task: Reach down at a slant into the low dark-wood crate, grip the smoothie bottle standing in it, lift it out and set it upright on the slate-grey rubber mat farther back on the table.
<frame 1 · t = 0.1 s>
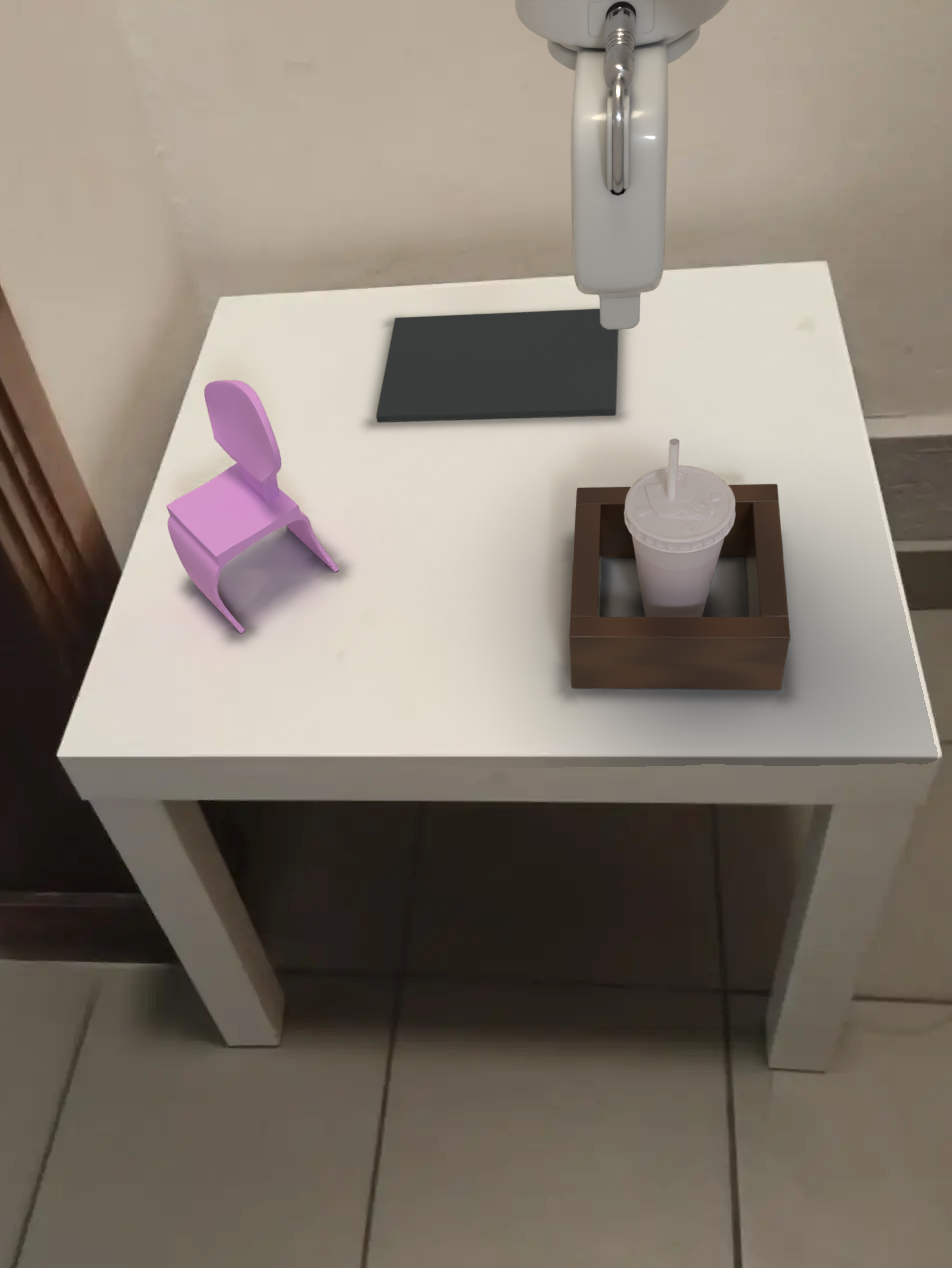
hand: (621, 259, 60), 25 cm above the table, tool pointing down, fingers open, 8 cm apart
mat: (500, 366, 95), on the table
crate: (673, 611, 79), on the table
toy chair: (264, 580, 85), on the table
smoothie: (673, 612, 79), resting in crate
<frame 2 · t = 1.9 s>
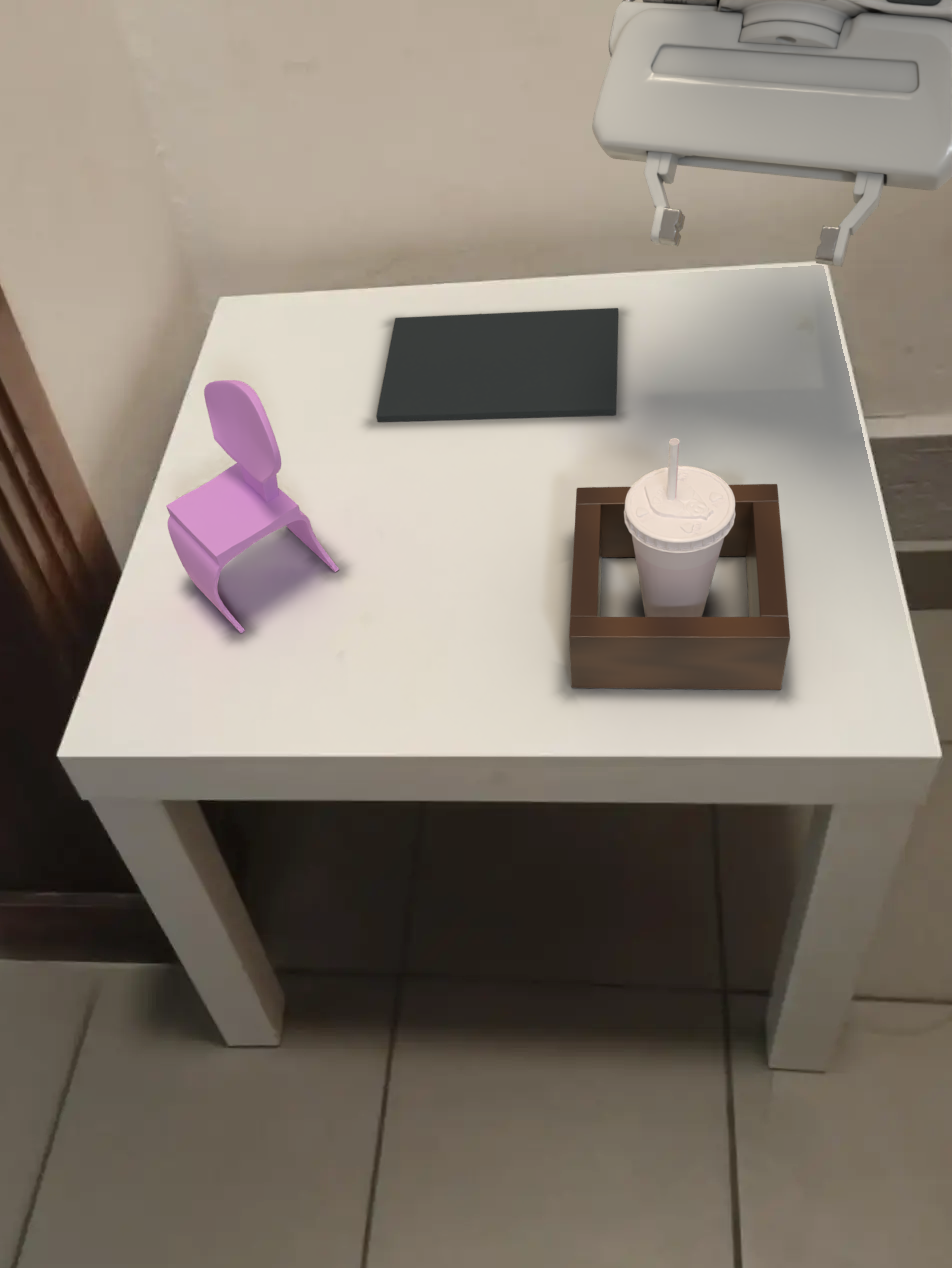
hand: (744, 253, 70), 18 cm above the table, tool tilted 45°, fingers open, 8 cm apart
nothing on the table moved.
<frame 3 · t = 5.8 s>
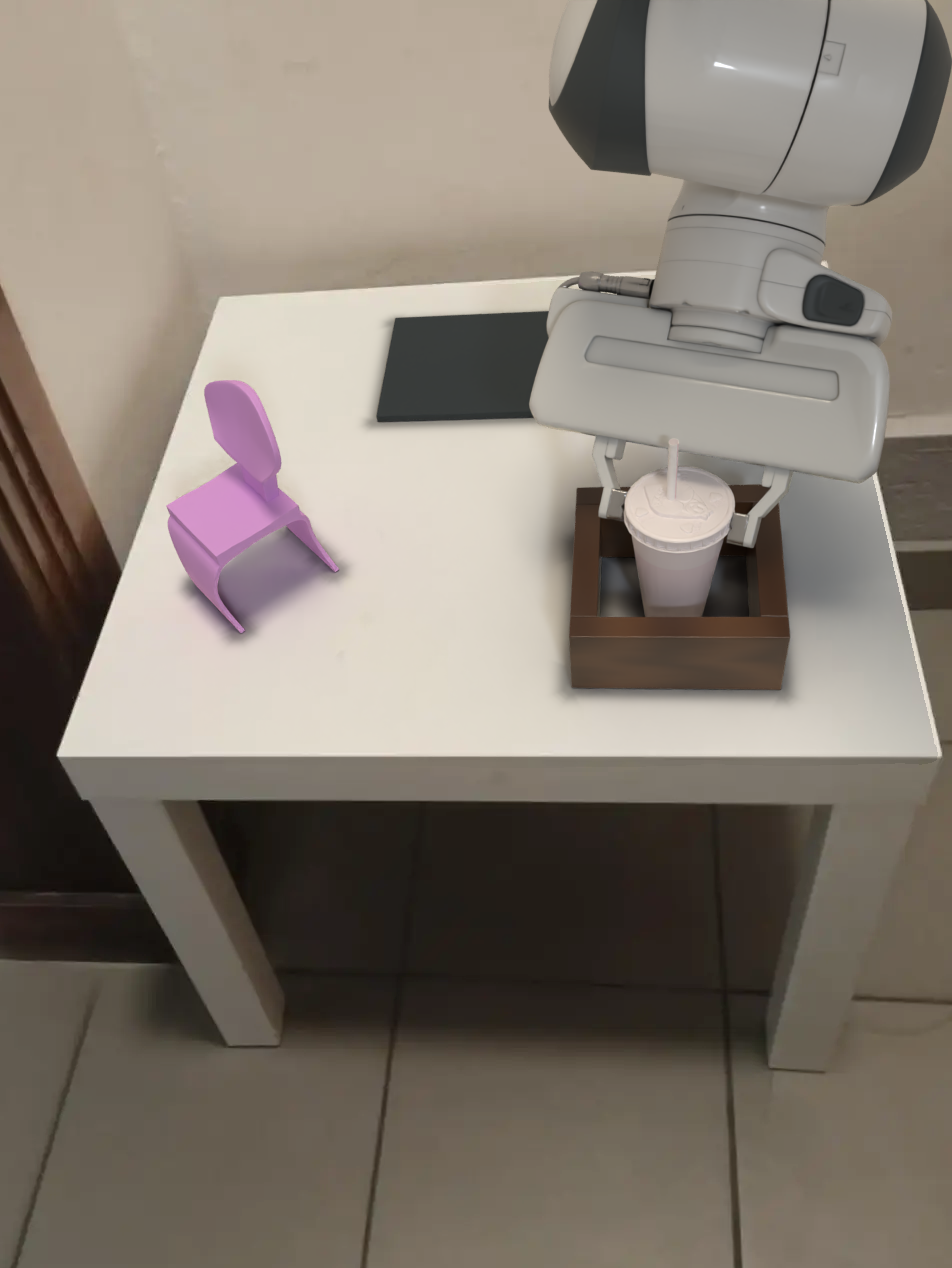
hand: (675, 532, 72), 8 cm above the table, tool tilted 45°, fingers closed on smoothie, 6 cm apart
smoothie: (673, 613, 79), resting in crate, touching gripper
everything else where it was.
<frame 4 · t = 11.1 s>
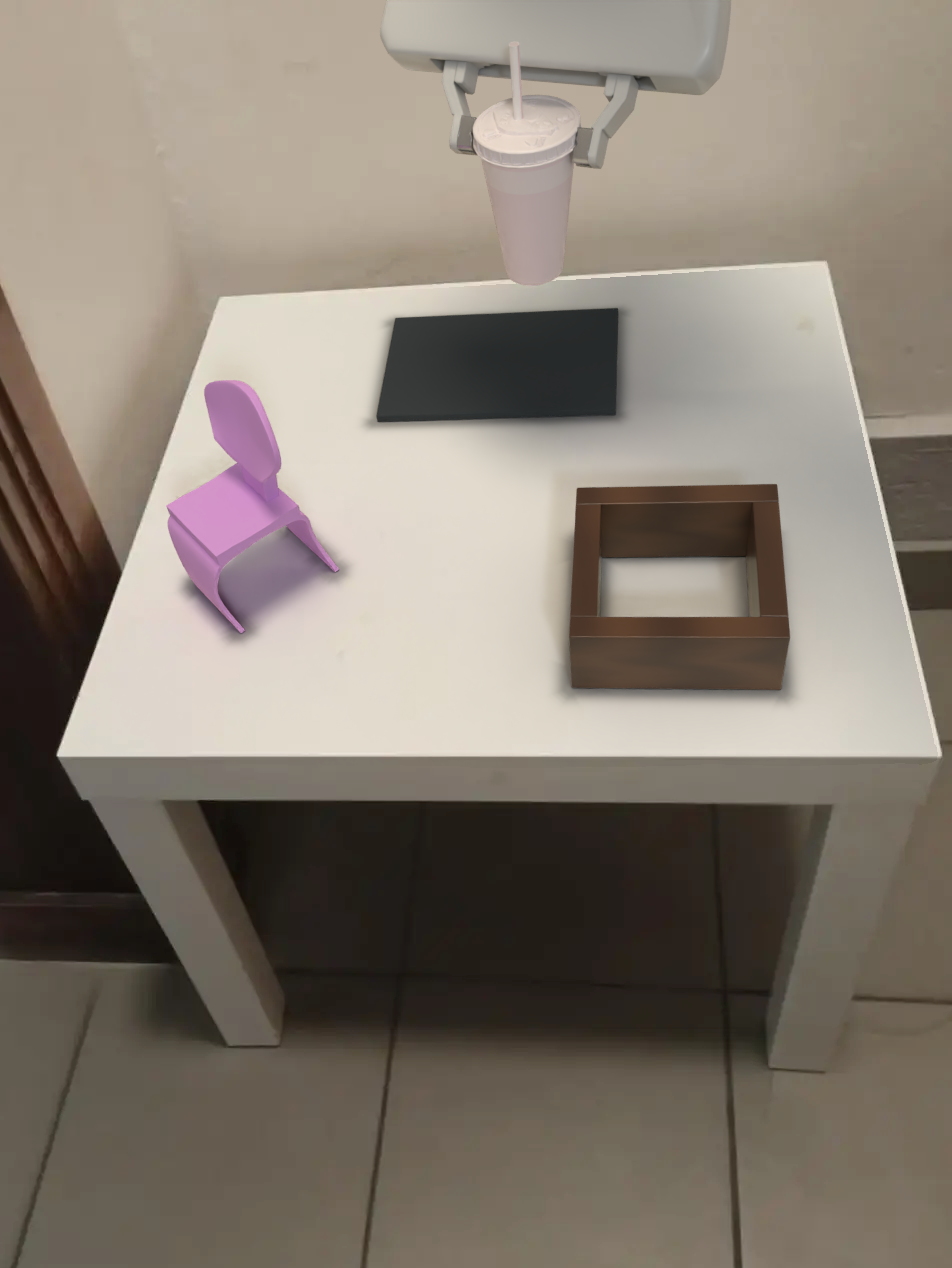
hand: (524, 158, 72), 22 cm above the table, tool tilted 45°, fingers closed on smoothie, 6 cm apart
smoothie: (534, 270, 79), point 14 cm above the table, touching gripper
everything else where it was.
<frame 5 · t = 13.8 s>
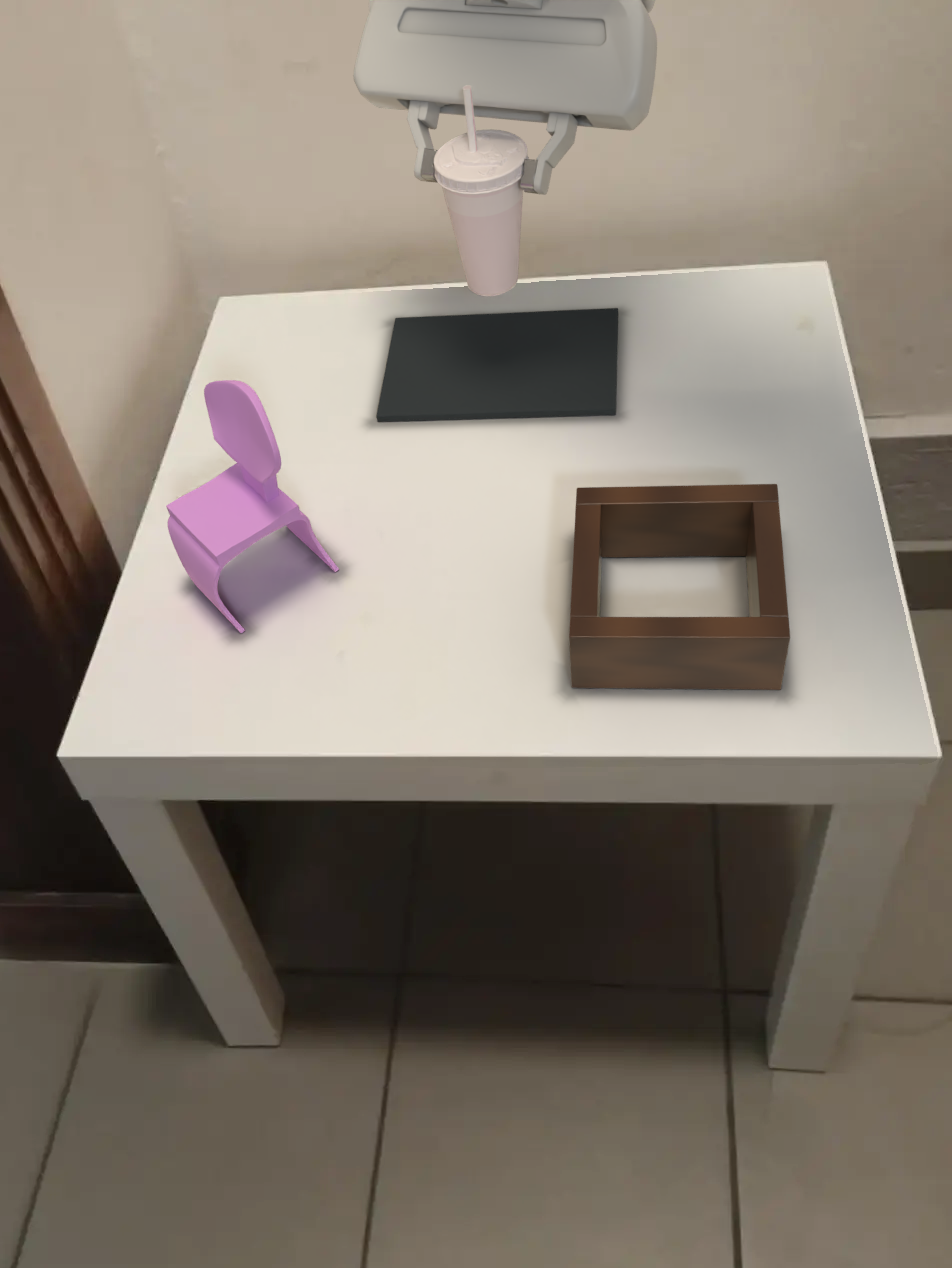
hand: (479, 186, 82), 16 cm above the table, tool tilted 45°, fingers closed on smoothie, 6 cm apart
smoothie: (492, 282, 89), point 8 cm above the table, touching gripper
everything else where it was.
when the fingers open (8 cm above the table, at t = 16.3 s): smoothie stays where it is, resting on mat.
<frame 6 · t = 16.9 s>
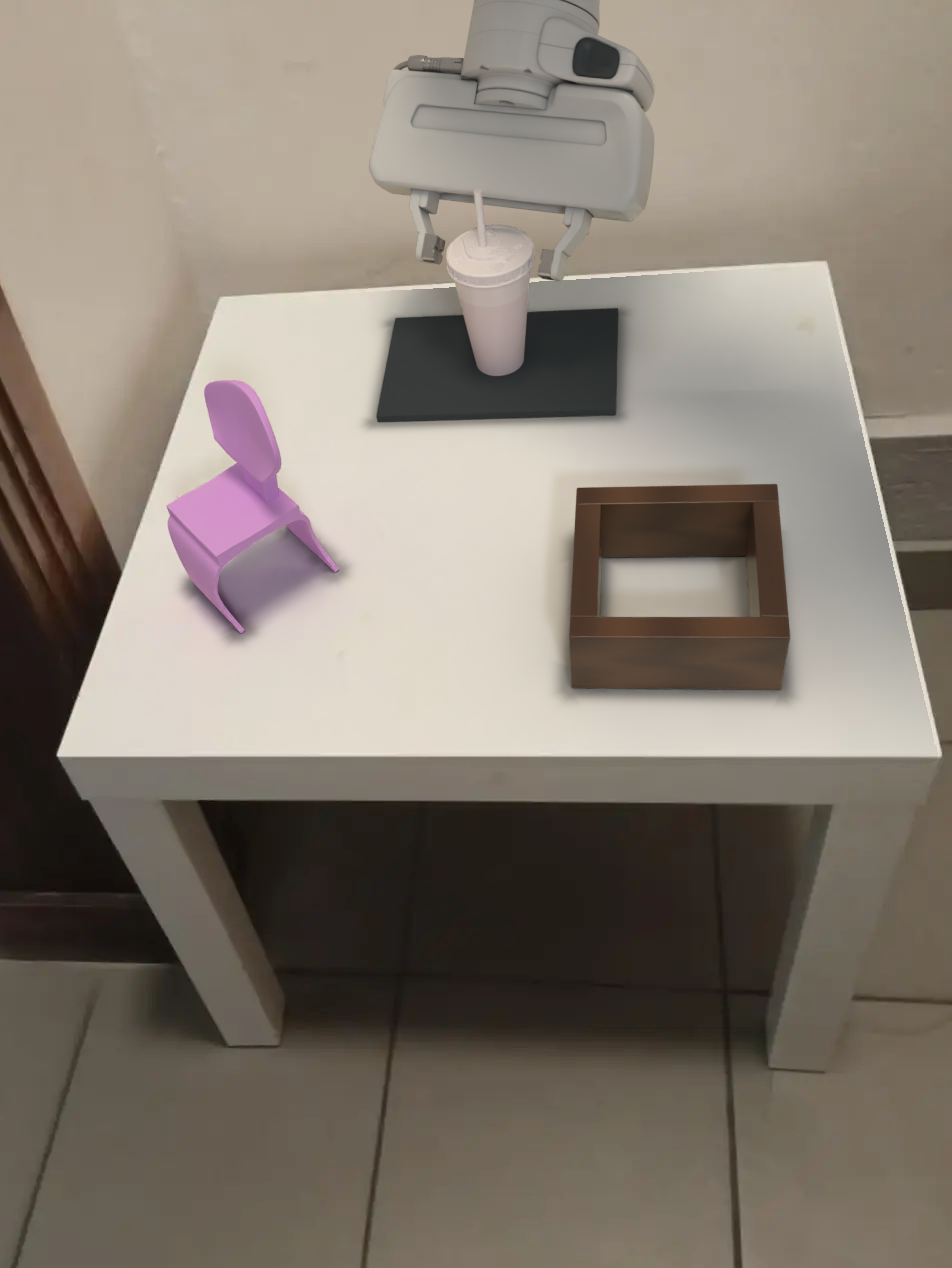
hand: (487, 270, 88), 9 cm above the table, tool tilted 45°, fingers open, 8 cm apart
smoothie: (500, 362, 95), resting on mat
everything else where it was.
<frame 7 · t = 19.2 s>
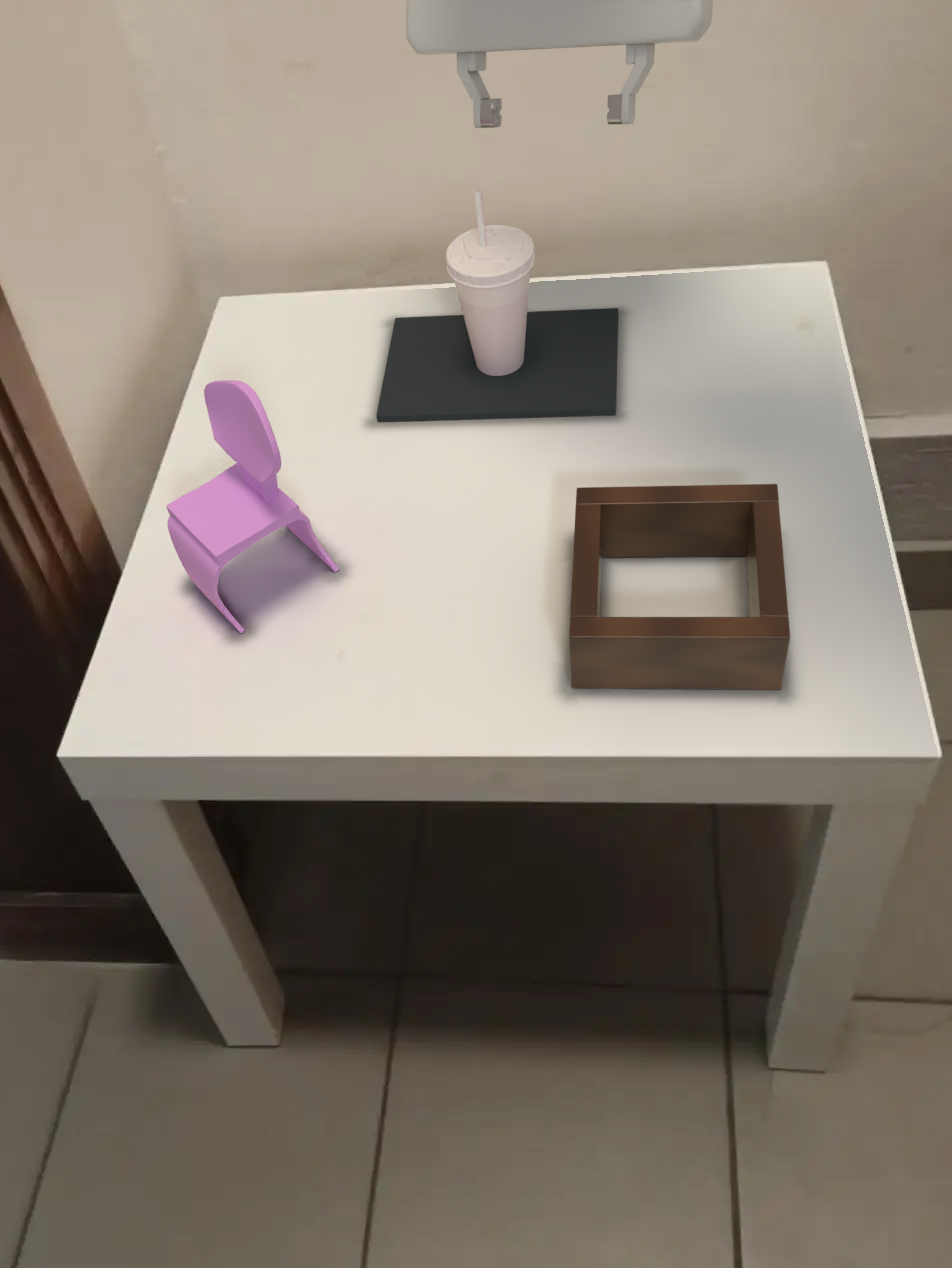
hand: (552, 126, 83), 17 cm above the table, tool tilted 25°, fingers open, 8 cm apart
nothing on the table moved.
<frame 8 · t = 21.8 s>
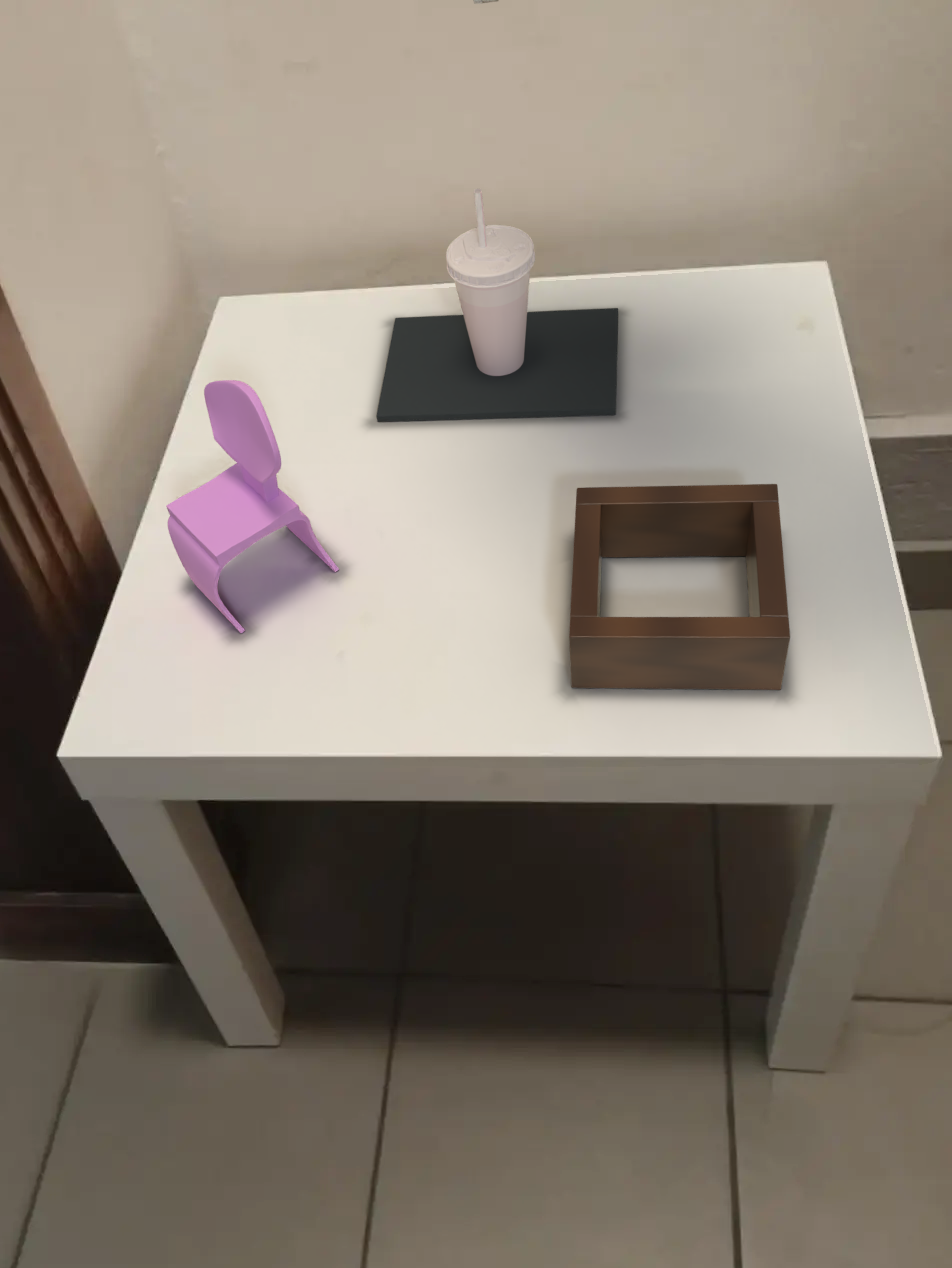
nothing on the table moved.
at the end: smoothie inside the target area on the mat (0.0 cm from its centre), point 0.4 cm above the mat's base; smoothie tilted 0°; the gripper is holding nothing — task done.
